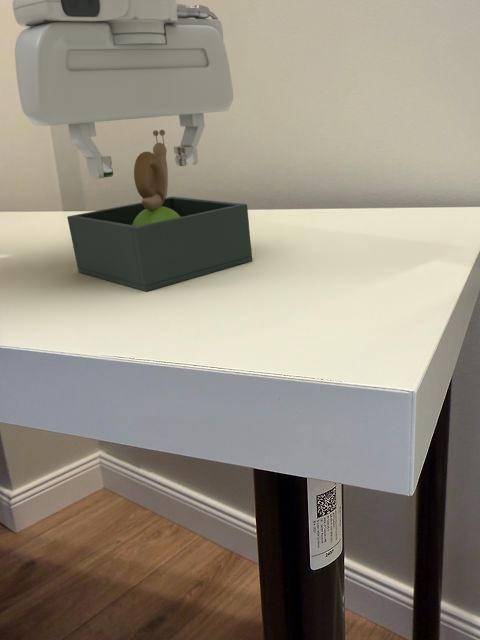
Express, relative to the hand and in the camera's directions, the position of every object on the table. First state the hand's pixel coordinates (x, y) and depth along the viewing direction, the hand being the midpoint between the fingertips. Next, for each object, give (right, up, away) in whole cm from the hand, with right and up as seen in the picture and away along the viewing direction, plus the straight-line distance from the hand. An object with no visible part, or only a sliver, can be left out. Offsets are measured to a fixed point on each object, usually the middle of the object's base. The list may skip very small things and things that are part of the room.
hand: (146, 171), depth 61 cm
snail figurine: (+1, -8, +3) cm, 9 cm away
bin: (+1, -8, +4) cm, 9 cm away
